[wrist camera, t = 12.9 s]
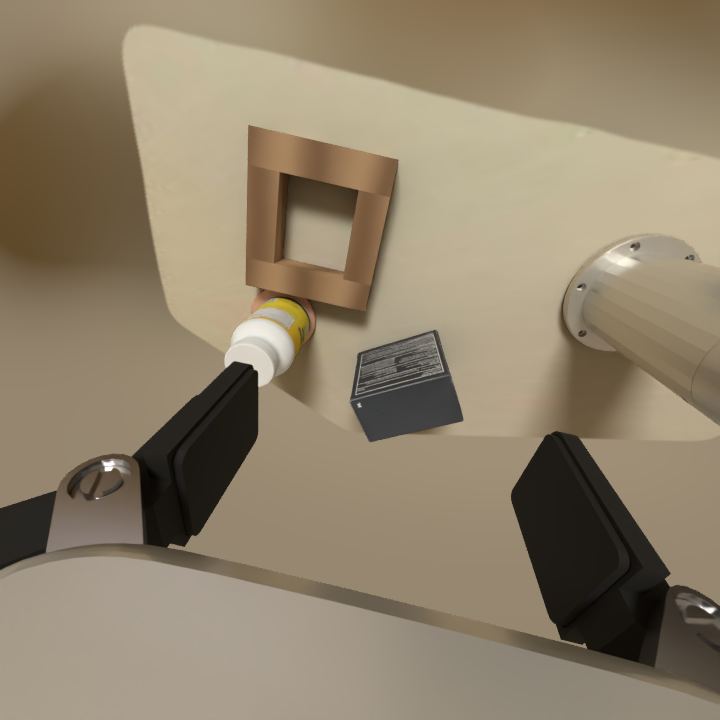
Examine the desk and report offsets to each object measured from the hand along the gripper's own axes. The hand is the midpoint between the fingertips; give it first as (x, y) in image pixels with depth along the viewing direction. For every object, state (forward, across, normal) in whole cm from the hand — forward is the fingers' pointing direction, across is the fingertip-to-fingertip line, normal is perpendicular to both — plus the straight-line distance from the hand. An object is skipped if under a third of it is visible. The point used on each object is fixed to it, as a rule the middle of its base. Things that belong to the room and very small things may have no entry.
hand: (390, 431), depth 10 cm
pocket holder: (+28, +10, -2) cm, 29 cm away
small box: (+28, -3, +13) cm, 31 cm away
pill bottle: (+27, +13, +9) cm, 31 cm away
